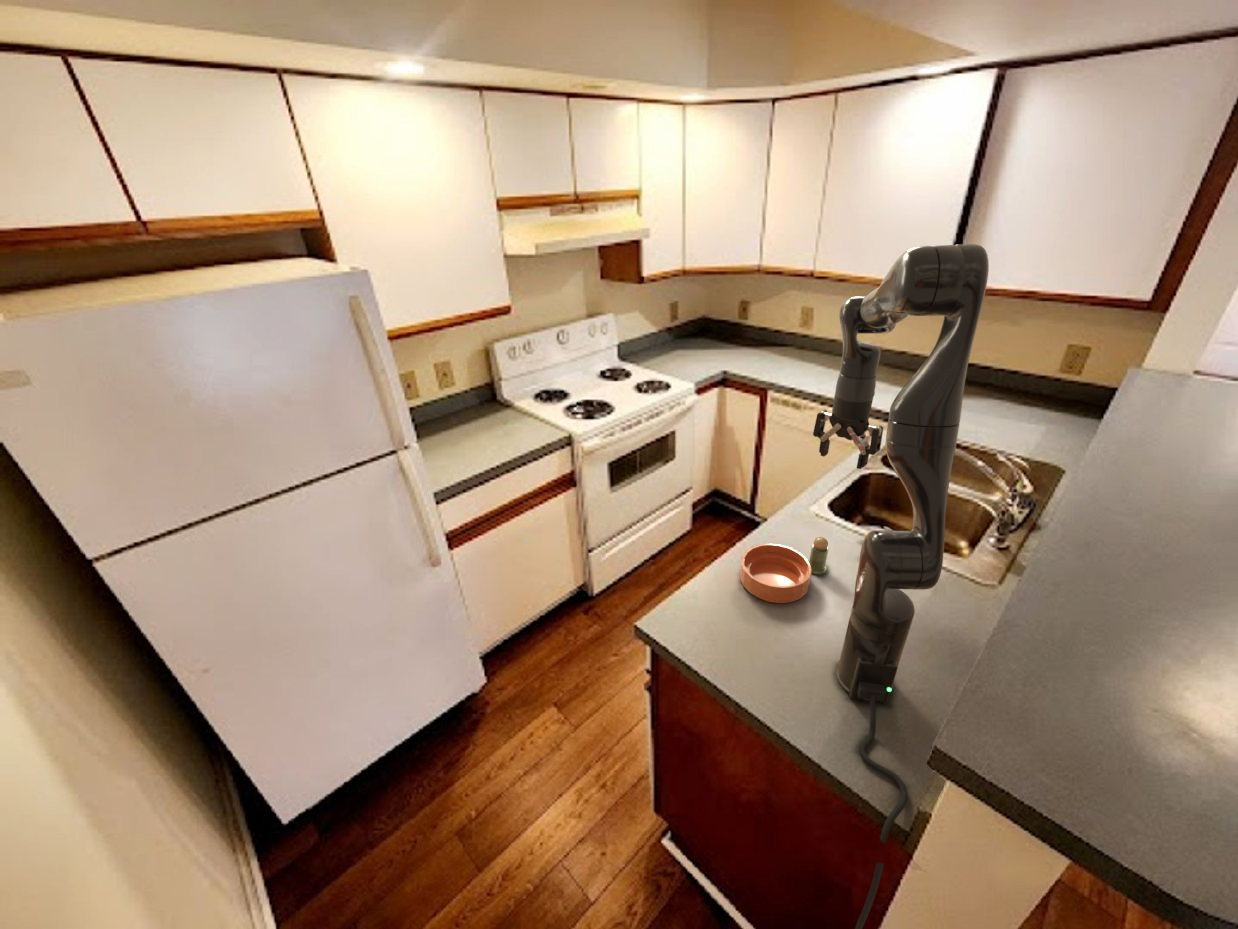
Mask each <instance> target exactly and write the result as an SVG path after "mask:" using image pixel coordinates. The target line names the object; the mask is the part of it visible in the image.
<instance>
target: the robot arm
mask: <svg viewBox="0 0 1238 929" xmlns="http://www.w3.org/2000/svg"><path fill="white" fill-rule="evenodd" d="M989 264H990V263H989V255H988V253H987V250H986V249H985V247H983V245H981V244H976V243H975V244H973V243H970V244H969V243H966V244H945V245H943V244H941V245H939V244H937V245H921V246H920V245H919V246H915V247H911V248H908V249H907V250H906V251H903V253H902V254H901V255H899V256H898V257H897V259H896V260H895V261H894V263H893V264H892V266H891V267H890V269H889V270H888V272H887V273H886V275H885V276H884V278H883V279H882V282H881V283H880V285H879V286H878V287H877V288H875V289H873V290H872V291H871V292H869V293H868V294H867V295H866V296H851V297H848V298H847V299H846V300H845V301H844V302H843V303H842V305H841V307H840V309H839V324H840V329H841V337H842V357H841V361H840V362H841V363H840V367H839V368H840V369H839V374H838V377H837V381H836V385H835V391H834V395H833V396H834V398H833V404H832V408H831V409H832V411H831V413H830V412H828V410H827V409H823V410H821V411H820V412H817V414H816V418H815V422H814V428H813V432H812V436H814V437H815V438H818V439H819V440H820V443H819V448H818V452H819V454H820V457H823V458H824V457H826V456H827V455H828V454H829V451H830V444H831V439H830V438H831V437H833V436H834V435H837V437H839V438H842V439H843V438H844V439H846V440H848V441H853V443H854V445H855V446H856V447H857V449H858V450H859V454H858V458H857V463H856V469H858V470H861V469H863V468H864V467H866V466H867V465H868V461H869V457H870V455H871V456H874V455H876V454H877V453H879V452H880V451H881V447H882V440H883V432H884V427H883V425H878V426H875V425H872V424H870V422H869V419H870V415H871V411H872V405H873V402H874V401H873V400H874V396H875V394H876V391H875V390H876V386H877V385H876V384H877V375H878V370H879V365H880V360H881V349H880V347H879V346H878V345H875V344H872V343H868V342H865V341H860V340H858V334H860V335H861V334H862V335H863V334H865V335H867V334H868V335H869V334H871V335H873V334H874V335H875V334H876V335H879V334H880V335H881V334H883V335H884V334H889V333H891V332H893V330H894V329H895V327H896V325H897V324H899V323H900V322H902V321H903V320H904V319H906V318H907V317H908V316H911V317H912V316H913V317H932V316H933V317H936V316H937V317H942V316H943V321H942V326H941V328H940V332H939V335H938V337H937V340H936V342H935V345H934V346H933V348H932V350H931V352H930V354H929V355H928V357H927V358H926V359H925V361H924V362H923V363H922V365H920V367H919V368H918V369H917V370H916V372H914V374H913V375H912V376H911V377H910V379H908V381H907V382H906V384H905V385H903V387H902V388H901V390H900V391H899V392H898V394H897V395H896V396H895V398H894V399H893V401H892V403H891V405H890V408H889V413H888V419H887V426H886V427H887V428H886V436H885V444H884V446H885V452H886V456H887V459H888V461H889V464H890V465H891V467H892V469H893V471H894V472H895V474H896V476H897V478H898V479H899V481H900V483H901V484H902V486H903V488H904V490H905V491H906V493H907V495H908V498H909V500H910V503H911V507H912V524H911V529H910V530H894V529H892V530H884V529H883V530H881V529H878V530H876V529H875V530H870V531H868V532H867V534H866V535H865V536H864V538H863V539H862V540H863V541H862V544H861V547H860V554H859V560H858V566H857V567H858V568H857V573H856V577H855V578H856V579H855V583H854V584H855V585H854V595H853V600H852V601H853V602H852V606H851V611H850V615H849V618H848V623H847V628H846V631H845V636H844V640H843V644H842V648H841V652H840V656H839V657H840V658H839V662H838V665H837V668H836V679H837V680H838V683H839V685H840V686H841V687H842V688H843V690H844V691H846V692H847V693H848V695H849V696H848V697H849V699H851V700H858V701H865V702H869V713H870V714H869V730H868V735H867V737H866V738H865V739H864V740H863V741H862V742H861V743H860V745H859V747H858V752H859V754H860V755H859V756H860V757H861V758H862V760H863V761H864V763H865V764H867V765H868V766H869V767H871V768H872V769H874V770H876V771H878V772H879V773H881V774H884V775H885V776H888V777H889V778H891V779H893V781H894V782H895V783H896V784H897V786H898V788H899V791H900V798H899V801H898V802H897V804H896V805H895V807H894V808H893V809H892V811H891V812H890V813H889V814H888V816H887V818H886V819H885V821H884V822H883V826H882V828H881V832H880V837H879V840H880V842H881V843H882V844H886V843H887V842H888V837H889V833H890V830H891V827H892V825H893V824H894V822H895V820H896V819H897V818H898V816H900V814H901V813H902V812H903V810H904V808H905V807H906V804H907V802H908V792H907V789H906V785H905V784H904V781H903V780H902V779H901V777H900V776H898V775H897V774H896V773H895V772H893V771H892V770H890V769H888V768H886V767H885V766H882V765H881V764H879V763H877V762H875V761H874V760H872V759H871V758H870V757H869V756H868V755H867V753H866V749H867V747H868V746H869V745H870V744H871V743H872V742H873V741H874V738H875V736H876V728H877V727H876V726H877V708H876V707H877V706H876V703H881V704H888V701H889V697H890V695H891V693H892V691H893V690H892V689H893V684H894V682H895V678H896V675H897V672H898V669H899V665H900V661H901V658H902V656H903V653H904V649H905V645H906V642H907V639H908V636H909V634H910V630H911V627H912V624H913V620H914V617H915V604H914V603H913V601H912V599H911V598H910V596H908V594H906V593H905V592H904V591H903V590H917V591H918V590H919V591H920V590H921V591H922V590H923V591H925V590H930V589H932V588H934V587H935V586H936V585H937V583H939V580H940V577H941V574H942V570H943V565H944V564H943V562H944V554H945V537H946V536H945V535H946V514H947V503H948V502H947V501H948V496H949V487H950V482H951V474H952V469H953V462H954V458H955V453H956V448H957V443H958V438H959V437H958V436H959V430H960V424H961V417H962V408H963V406H962V405H963V398H964V392H965V391H964V390H965V385H966V380H967V373H968V367H969V362H970V357H971V353H972V348H973V343H974V339H975V335H976V332H977V327H978V324H979V320H980V316H981V312H982V308H983V305H984V304H983V303H984V300H985V294H986V291H987V286H988V280H989V279H988V278H989V270H990V269H989V267H990V266H989ZM828 421H829V423H830V426H831V428H830V429H829V430H827V431H826V432H825V431H824V430H825V426H826V422H828ZM867 431H868V434H869V437H870V442H869V439H868V436H867V434H866V432H867ZM883 870H884V863H882V862H876V865H875V869H874V873H873V877H872V881H871V884H870V888H869V891H868V893H867V897H866V899H865V902H864V905H863V908H862V910H861V912H860V914H859V916H858V917H859V918H858V919H857V922H856V925H855V927H854V929H863V928H864V925H865V923H866V920H867V918H868V916H869V913H870V911H871V908H872V906H873V904H874V900H875V897H876V895H877V892H878V888H879V884H880V881H881V877H882V874H883Z"/></svg>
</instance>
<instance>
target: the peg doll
mask: <svg viewBox="0 0 1238 929" xmlns="http://www.w3.org/2000/svg"><path fill="white" fill-rule="evenodd" d="M828 553H829V542H828V540H827V538H825V537H824V536H818V537H816V538H815V539H814V540H813V543H812V544H811V550H810V555H809V560H808V561H809V563H810V565H811V570H812V573H811V575H812V574H813V575H816V576H821V575H824V574H826V573H827V565H826V563H827V560H828Z"/></svg>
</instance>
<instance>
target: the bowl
mask: <svg viewBox="0 0 1238 929" xmlns="http://www.w3.org/2000/svg"><path fill="white" fill-rule="evenodd" d="M809 561H810V560H808V558H807V557H806V556H805V555H803V554H802V553H801V552H800V551H798V550H796V549H794V548H793V547H790V546H787V545H783V544H778V543H763V544H756V545H754V546H751V547H750V548H748V549H747V550H746V551H745V552H744V553H743V555H742V556H741V563H740V581H741V584H742V586H743V588H745V589H746V590H747V591H748V592H749V593H750V594H751V595H753V596H754V597H756V598H758V599H759V600H763V601H765V602H768V603H775V604H776V603H777V604H786V603H787V604H788V603H793V602H795V601H798V600H801V599H802V598H803V597H804V596H805V595H806V594H807V593H808V590H809V588H810V584H811V578H812V570H811V565H810V563H809Z"/></svg>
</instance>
